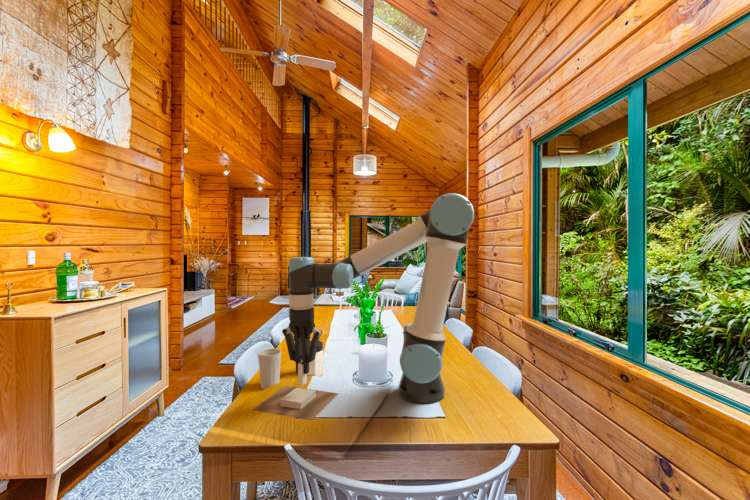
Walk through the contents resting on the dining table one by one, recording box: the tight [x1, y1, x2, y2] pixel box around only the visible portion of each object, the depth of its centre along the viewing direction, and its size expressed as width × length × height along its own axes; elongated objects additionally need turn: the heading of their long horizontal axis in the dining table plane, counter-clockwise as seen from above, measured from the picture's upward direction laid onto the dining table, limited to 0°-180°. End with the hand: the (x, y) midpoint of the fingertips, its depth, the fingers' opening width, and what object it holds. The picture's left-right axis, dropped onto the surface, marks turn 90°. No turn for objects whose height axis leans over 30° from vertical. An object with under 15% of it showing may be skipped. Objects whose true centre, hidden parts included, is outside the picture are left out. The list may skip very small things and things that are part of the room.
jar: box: [307, 340, 325, 378], centre depth 135 cm, size 9×8×12 cm
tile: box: [280, 387, 317, 409], centre depth 109 cm, size 2×9×7 cm
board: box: [251, 385, 339, 421], centre depth 110 cm, size 20×18×1 cm
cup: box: [257, 348, 282, 390], centre depth 124 cm, size 8×8×12 cm
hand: (302, 383), depth 109 cm, fingers closed
